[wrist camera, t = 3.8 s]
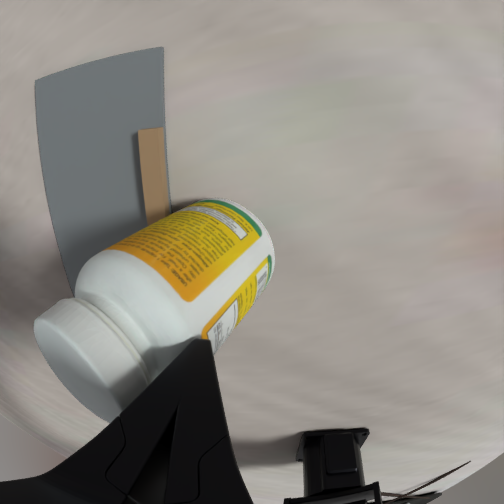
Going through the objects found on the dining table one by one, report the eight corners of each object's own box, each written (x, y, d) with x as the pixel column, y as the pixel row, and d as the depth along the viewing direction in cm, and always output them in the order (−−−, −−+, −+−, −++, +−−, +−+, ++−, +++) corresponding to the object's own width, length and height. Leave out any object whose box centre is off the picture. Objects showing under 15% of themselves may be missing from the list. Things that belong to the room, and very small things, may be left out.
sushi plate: (304, 517, 46) (304, 531, 42) (379, 473, 32) (382, 495, 28) (409, 506, 47) (411, 517, 44) (493, 451, 33) (498, 466, 30)
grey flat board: (194, 367, 21) (192, 378, 20) (99, 353, 21) (94, 362, 20) (163, 47, 11) (156, 44, 10) (38, 80, 12) (27, 80, 11)
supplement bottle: (292, 288, 14) (180, 463, 6) (205, 299, 17) (85, 420, 9) (253, 179, 13) (58, 290, 5) (166, 211, 16) (7, 302, 8)
